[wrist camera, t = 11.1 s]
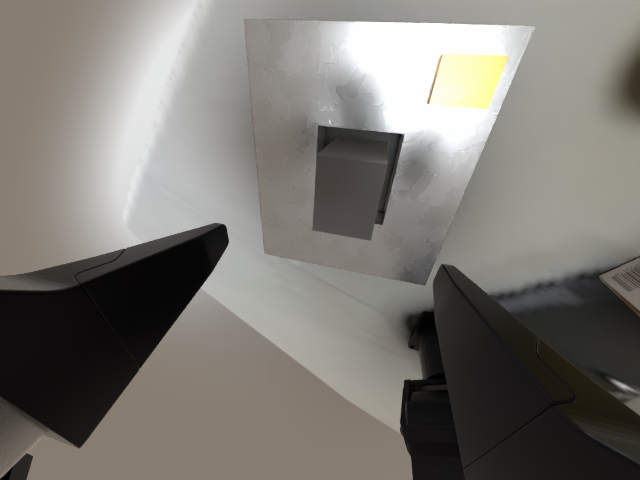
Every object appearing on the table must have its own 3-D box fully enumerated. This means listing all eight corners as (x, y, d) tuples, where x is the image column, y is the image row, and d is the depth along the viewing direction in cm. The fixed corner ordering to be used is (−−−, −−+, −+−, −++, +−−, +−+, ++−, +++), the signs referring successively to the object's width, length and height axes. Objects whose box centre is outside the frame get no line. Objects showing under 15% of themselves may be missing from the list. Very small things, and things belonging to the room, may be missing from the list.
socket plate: (421, 268, 24) (426, 291, 21) (274, 241, 26) (261, 258, 23) (512, 36, 14) (544, 22, 11) (261, 28, 16) (237, 15, 14)
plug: (374, 200, 21) (370, 240, 15) (331, 193, 22) (312, 230, 16) (386, 141, 18) (388, 163, 13) (337, 136, 19) (316, 155, 13)
